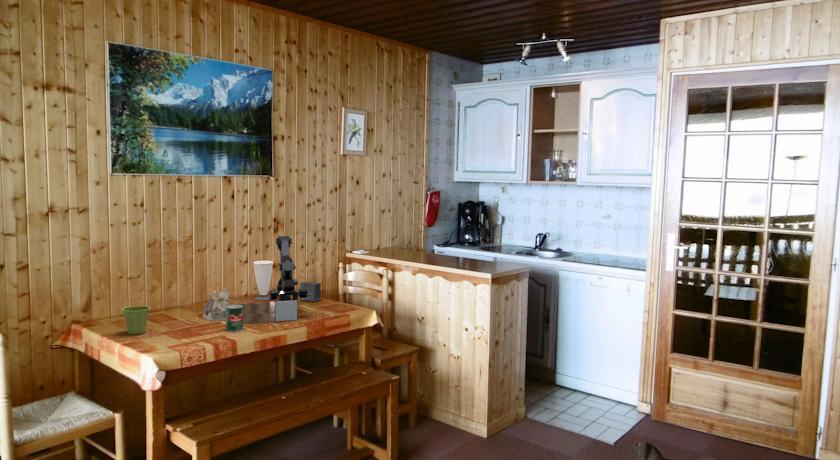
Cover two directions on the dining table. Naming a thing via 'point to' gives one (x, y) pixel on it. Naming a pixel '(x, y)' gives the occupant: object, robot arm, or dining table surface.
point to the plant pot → (136, 318)
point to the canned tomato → (234, 317)
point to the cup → (263, 278)
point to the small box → (312, 291)
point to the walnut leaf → (257, 313)
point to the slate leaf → (284, 310)
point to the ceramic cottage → (217, 306)
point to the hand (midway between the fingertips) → (290, 308)
